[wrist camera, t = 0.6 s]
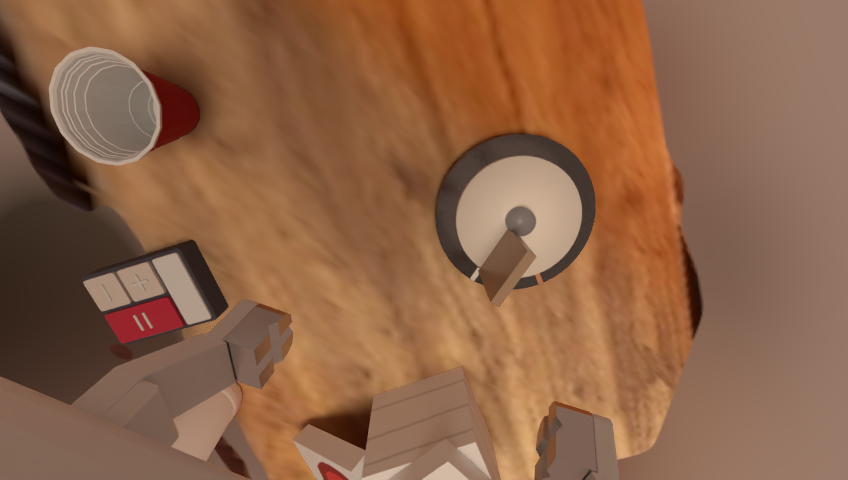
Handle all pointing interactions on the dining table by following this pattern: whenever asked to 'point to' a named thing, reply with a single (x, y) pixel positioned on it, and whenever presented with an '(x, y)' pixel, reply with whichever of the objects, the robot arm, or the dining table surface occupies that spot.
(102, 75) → the plastic cup
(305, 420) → the dining table surface
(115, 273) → the calculator
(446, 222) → the dial housing
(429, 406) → the pizza boxes
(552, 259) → the dial
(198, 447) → the bottle
